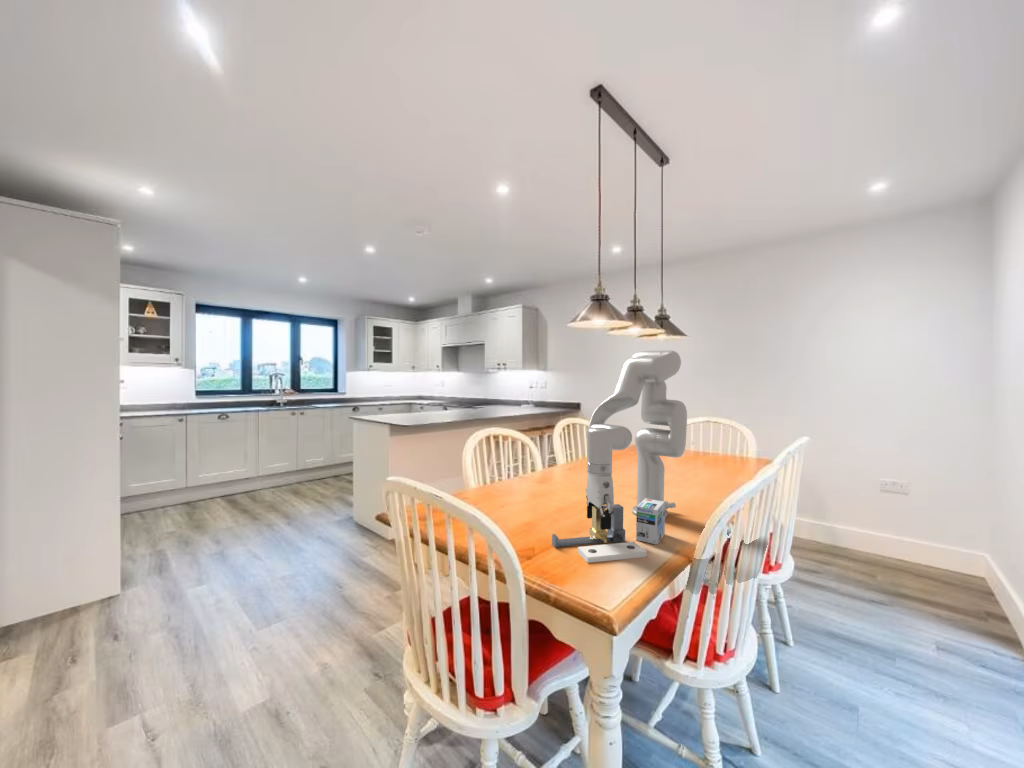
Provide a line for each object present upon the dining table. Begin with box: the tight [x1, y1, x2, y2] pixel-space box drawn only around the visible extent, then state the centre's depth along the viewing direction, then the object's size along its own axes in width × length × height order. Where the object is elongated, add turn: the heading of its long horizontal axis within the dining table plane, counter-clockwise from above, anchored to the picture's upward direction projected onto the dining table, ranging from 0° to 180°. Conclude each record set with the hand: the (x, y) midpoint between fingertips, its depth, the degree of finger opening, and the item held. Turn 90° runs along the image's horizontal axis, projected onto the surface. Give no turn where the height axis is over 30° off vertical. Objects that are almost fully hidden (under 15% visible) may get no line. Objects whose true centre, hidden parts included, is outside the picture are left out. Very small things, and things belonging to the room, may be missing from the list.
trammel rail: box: [551, 503, 626, 549], centre depth 128 cm, size 22×7×11 cm, turn 103°
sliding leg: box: [589, 506, 608, 544], centre depth 129 cm, size 4×7×9 cm, turn 13°
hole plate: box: [577, 541, 647, 564], centre depth 122 cm, size 18×7×2 cm, turn 103°
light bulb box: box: [635, 498, 666, 546], centre depth 135 cm, size 11×7×11 cm, turn 148°
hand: (598, 523), depth 131 cm, fingers open, 9 cm apart
